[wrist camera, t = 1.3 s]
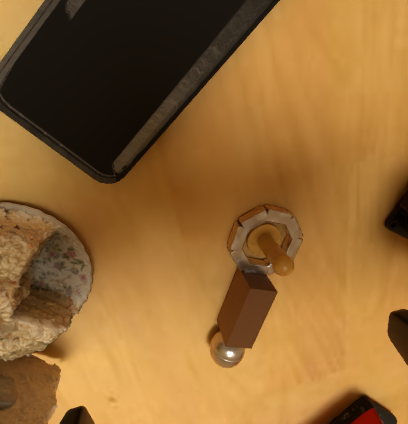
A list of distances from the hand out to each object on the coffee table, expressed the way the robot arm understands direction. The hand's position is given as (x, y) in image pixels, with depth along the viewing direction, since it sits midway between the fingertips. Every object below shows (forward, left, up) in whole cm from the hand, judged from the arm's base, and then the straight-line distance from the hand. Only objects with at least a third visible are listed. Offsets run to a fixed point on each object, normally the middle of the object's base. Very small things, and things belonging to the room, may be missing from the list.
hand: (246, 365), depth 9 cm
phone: (+6, -7, -13) cm, 16 cm away
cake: (+8, +9, -13) cm, 18 cm away
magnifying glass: (-8, +5, -13) cm, 16 cm away
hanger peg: (-7, +1, -13) cm, 15 cm away
